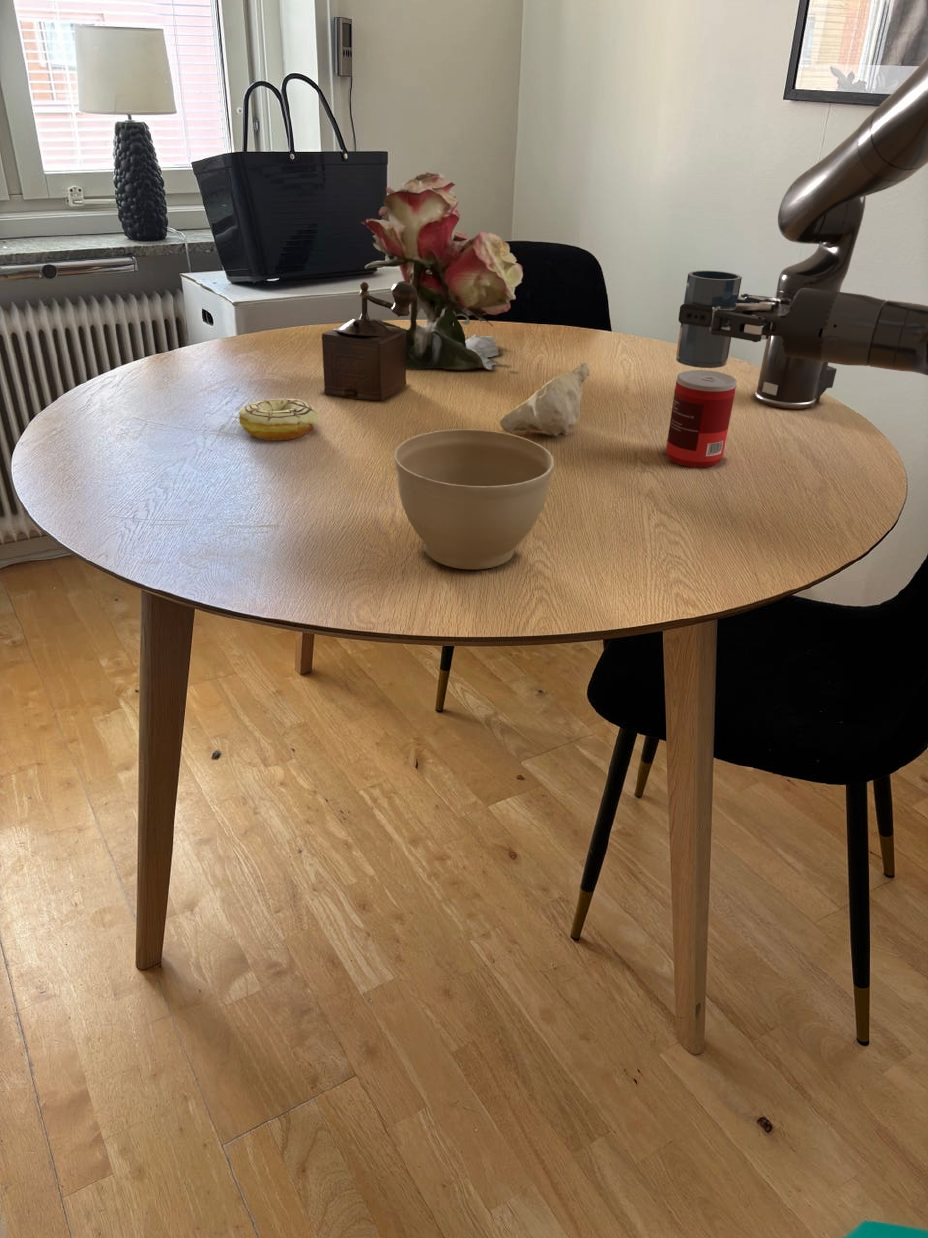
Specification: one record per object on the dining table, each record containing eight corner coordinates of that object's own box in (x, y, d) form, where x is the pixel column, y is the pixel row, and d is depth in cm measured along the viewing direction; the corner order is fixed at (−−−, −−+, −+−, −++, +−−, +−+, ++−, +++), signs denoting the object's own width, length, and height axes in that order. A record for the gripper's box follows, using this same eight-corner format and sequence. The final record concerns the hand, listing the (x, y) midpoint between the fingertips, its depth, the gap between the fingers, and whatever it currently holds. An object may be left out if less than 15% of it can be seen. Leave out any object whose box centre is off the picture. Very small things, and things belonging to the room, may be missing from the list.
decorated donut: (333, 433, 128) (332, 407, 126) (266, 449, 121) (264, 421, 119) (292, 414, 134) (291, 389, 132) (227, 428, 128) (225, 402, 126)
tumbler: (707, 353, 114) (721, 269, 109) (736, 366, 109) (752, 278, 104) (666, 356, 112) (678, 271, 107) (694, 369, 107) (708, 280, 102)
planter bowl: (428, 599, 87) (429, 494, 82) (374, 532, 100) (372, 437, 95) (573, 572, 93) (583, 473, 88) (505, 512, 106) (510, 421, 100)
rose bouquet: (519, 373, 157) (531, 182, 142) (351, 367, 157) (345, 176, 142) (514, 338, 179) (524, 169, 164) (366, 333, 179) (363, 164, 164)
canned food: (724, 452, 126) (739, 373, 120) (719, 471, 119) (734, 389, 114) (669, 444, 128) (681, 366, 122) (661, 463, 121) (673, 382, 116)
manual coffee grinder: (319, 395, 143) (314, 275, 134) (350, 377, 152) (347, 263, 143) (410, 408, 139) (410, 285, 130) (436, 389, 148) (438, 273, 139)
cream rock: (526, 464, 125) (615, 396, 122) (494, 421, 124) (583, 351, 121) (530, 459, 140) (610, 398, 137) (502, 421, 139) (582, 359, 136)
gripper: (854, 282, 105) (712, 266, 112) (829, 303, 94) (674, 283, 101) (838, 348, 108) (702, 328, 116) (813, 375, 98) (664, 351, 105)
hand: (689, 307), depth 108 cm, fingers closed on tumbler, 6 cm apart
